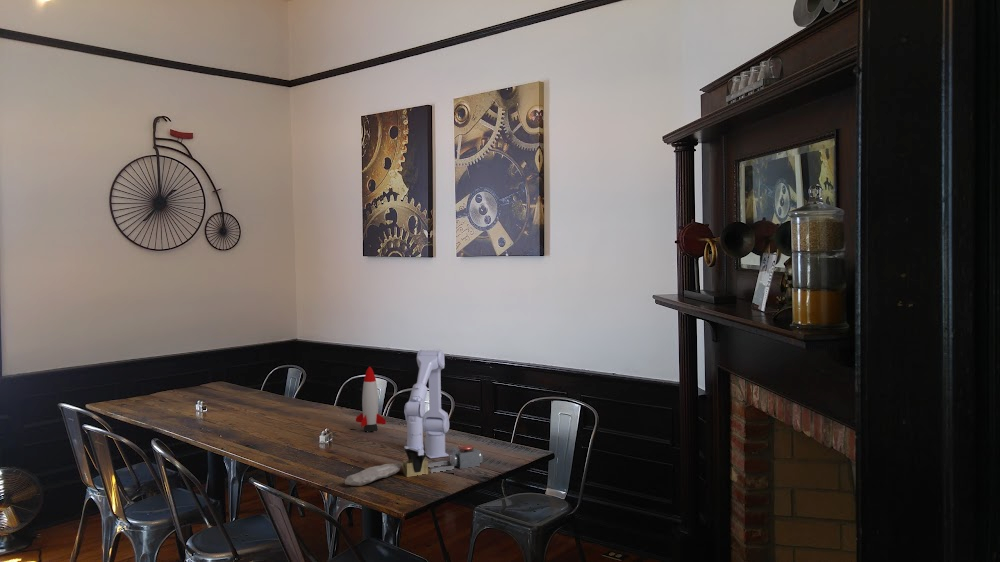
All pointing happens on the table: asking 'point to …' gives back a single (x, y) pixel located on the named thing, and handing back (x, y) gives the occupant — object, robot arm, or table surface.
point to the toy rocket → (370, 404)
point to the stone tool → (372, 474)
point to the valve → (460, 458)
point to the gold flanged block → (409, 468)
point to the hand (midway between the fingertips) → (415, 470)
